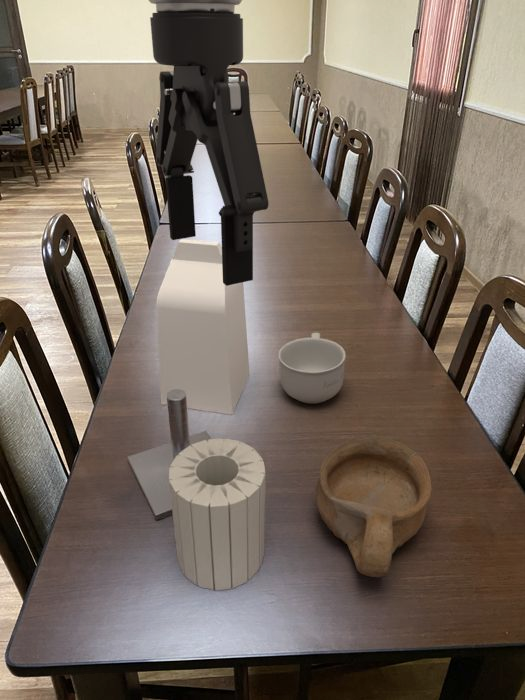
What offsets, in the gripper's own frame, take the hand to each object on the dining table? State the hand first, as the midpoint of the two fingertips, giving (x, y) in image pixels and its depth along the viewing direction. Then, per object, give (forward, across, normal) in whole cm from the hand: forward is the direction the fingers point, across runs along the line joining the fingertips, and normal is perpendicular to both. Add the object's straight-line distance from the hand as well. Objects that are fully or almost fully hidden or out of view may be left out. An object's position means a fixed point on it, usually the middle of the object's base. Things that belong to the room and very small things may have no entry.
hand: (207, 257), depth 54 cm
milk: (+33, +22, -8) cm, 40 cm away
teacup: (+33, +14, -24) cm, 43 cm away
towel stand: (+33, +5, +3) cm, 33 cm away
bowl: (+33, -15, -14) cm, 39 cm away
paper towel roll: (+33, -9, +4) cm, 34 cm away
